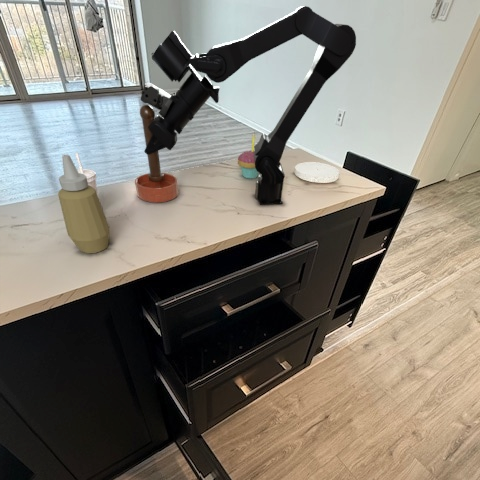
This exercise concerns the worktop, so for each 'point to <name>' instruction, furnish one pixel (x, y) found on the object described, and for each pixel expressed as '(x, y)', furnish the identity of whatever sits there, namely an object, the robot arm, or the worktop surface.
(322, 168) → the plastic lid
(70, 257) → the worktop surface
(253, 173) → the cupcake
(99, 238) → the squeeze bottle
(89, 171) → the smoothie
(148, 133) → the muddler
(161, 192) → the bowl
